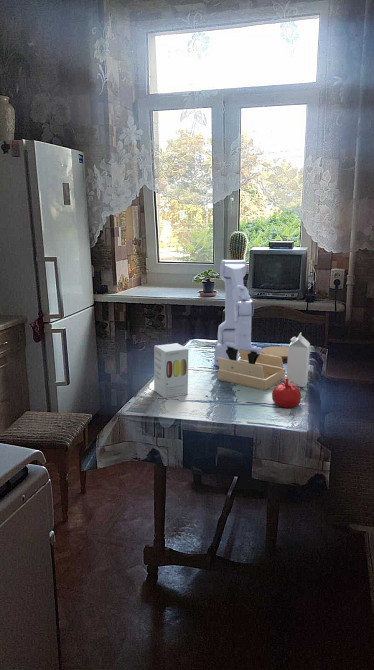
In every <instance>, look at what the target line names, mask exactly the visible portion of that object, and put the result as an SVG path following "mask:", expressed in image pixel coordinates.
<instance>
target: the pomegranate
mask: <svg viewBox="0 0 374 670" xmlns="http://www.w3.org/2000/svg"><path fill="white" fill-rule="evenodd" d="M280 382H283V383H280ZM280 382H279V383H277V384H275V385H277V386H275V385H274V386H275V387H274V388H273V389H272V392H271V398H272V402H273V403H274V404H275V405H277V406H278V407H281V408H284V409H285V408H286V409H289V408H295V407H297V406H299V405H300V403H301V401H302V392H301V391H300V389H299V388H298V386H295V385H293V384H290V383H291V382H292V381H291V382H289V383H288V378H287V377H285V379H284V380H281V381H280ZM293 383H294V382H293ZM294 384H295V383H294ZM297 385H298V384H297Z"/></svg>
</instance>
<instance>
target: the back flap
mask: <svg viewBox="0 0 374 670" xmlns="http://www.w3.org/2000/svg"><path fill="white" fill-rule="evenodd" d="M238 351H239V357H240V360H244V361H249V360H248V355H247V354H249V353H251V352H248V351H242V350H238ZM255 363H259V364H264V365H269V366H274V367H279V368H284V369H285V365H284V362H282V358H281V357H278V356H273V355H268V354H262V353H261V354H260V355H259V356H258V358H257V360H256V362H255Z"/></svg>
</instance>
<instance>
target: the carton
mask: <svg viewBox="0 0 374 670" xmlns="http://www.w3.org/2000/svg"><path fill="white" fill-rule="evenodd" d="M238 361H239V362H244V363H249V361H246V360H241V359H238ZM255 365H259V366H262V368H263V374H264V379H262V378H258V377H253V376H249V375H244V374H239V373H235V372H230V371H226V370H221V369H220V368H219V369H218V370H217V380H218V381H223V382H226V383H231V384H235V385H238V386H243V387H248V388H251V389H256V390H261V391H267V390H269V389H271V388H272V387H273V386H275V384H277V385H278V383H279V384H280V382H282V381H285V378H286V368H285V367H284V368H281V367H276V366H271V365H266V364H261V363H256V362H255ZM281 380H282V381H281Z"/></svg>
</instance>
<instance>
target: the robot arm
mask: <svg viewBox="0 0 374 670" xmlns="http://www.w3.org/2000/svg"><path fill="white" fill-rule="evenodd" d="M219 264H220V265H219V277H220V280H221V281H223V282H224V286H225V287H224V291H225V293H224V294H225V295H224V298H225V299H224V305H225V306H224V307H225V310H224V315H225V316H224V321H223V322H221V324H219V325H218V331H217V342H218V343H217V344H216V345H215V349H214V363H213V366H216V367H219V363H218V359H217V357H220V358H225V359H230V360H235V361H239V356H240V354H239V351H238V350H242V351H248V352H251V353H249V354H247V355H248V360H249V364H254V365H255V363H256V360H257V358H258V356H259V355H260V354H261V353H262V349H263V348H262V347H259V346H255V345H252V343H251V342H252V317H253V316H254V312H255V307H254V302H253V301H254V300H253V299H252V298H250V293H249V290H248V288H247V287H246V286H245V285H244V278H245V276H246V274H247V270H248V269H247V268H248V265H247V264H248V263H247V261H246V260H245V259H222V260H220V263H219ZM232 368H233V367H232ZM249 372H250V371H249Z"/></svg>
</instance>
